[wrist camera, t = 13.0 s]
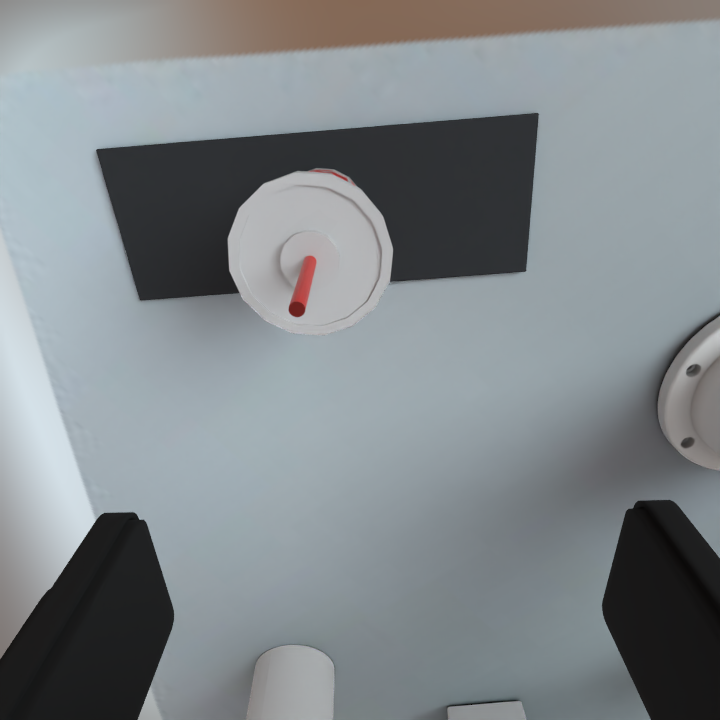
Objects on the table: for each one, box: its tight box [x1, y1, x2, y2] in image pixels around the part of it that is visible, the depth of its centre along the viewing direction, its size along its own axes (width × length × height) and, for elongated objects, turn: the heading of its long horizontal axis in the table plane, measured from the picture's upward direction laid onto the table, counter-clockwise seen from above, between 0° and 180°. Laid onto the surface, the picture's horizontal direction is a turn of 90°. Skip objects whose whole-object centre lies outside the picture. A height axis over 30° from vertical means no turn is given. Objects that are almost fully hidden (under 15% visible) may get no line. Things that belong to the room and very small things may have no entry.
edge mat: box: [96, 113, 539, 300], centre depth 26 cm, size 22×8×1 cm, turn 94°
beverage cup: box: [228, 168, 393, 335], centre depth 20 cm, size 6×6×14 cm
